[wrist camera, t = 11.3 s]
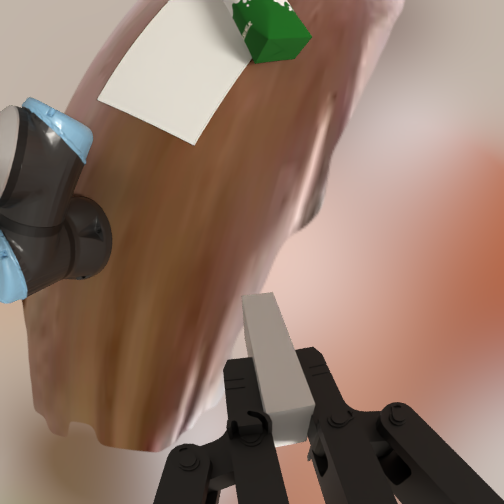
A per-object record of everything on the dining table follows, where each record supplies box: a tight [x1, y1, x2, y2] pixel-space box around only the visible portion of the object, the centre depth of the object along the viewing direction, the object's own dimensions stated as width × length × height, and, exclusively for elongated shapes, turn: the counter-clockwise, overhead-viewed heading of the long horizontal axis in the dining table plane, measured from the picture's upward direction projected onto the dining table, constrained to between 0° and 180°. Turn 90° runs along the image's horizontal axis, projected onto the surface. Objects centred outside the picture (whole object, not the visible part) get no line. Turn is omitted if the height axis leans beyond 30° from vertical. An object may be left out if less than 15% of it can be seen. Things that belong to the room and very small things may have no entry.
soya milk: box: [222, 0, 312, 64], centre depth 31 cm, size 9×9×20 cm
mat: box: [97, 0, 252, 145], centre depth 37 cm, size 22×28×1 cm
